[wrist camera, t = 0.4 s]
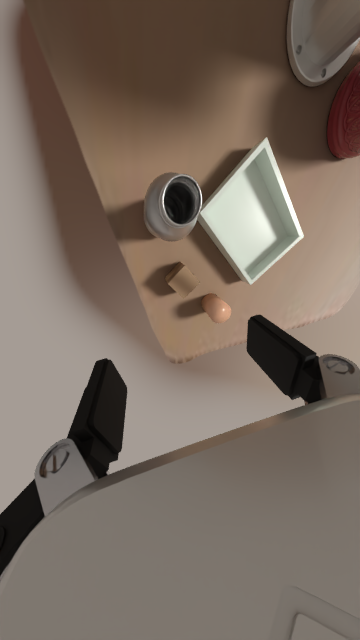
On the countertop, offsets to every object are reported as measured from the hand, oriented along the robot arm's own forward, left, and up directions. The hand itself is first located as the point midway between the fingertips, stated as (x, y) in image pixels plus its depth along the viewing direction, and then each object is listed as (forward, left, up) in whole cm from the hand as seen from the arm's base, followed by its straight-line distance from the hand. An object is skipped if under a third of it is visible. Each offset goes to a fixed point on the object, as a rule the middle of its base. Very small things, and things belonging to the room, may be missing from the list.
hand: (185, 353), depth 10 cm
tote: (-20, +8, -29) cm, 36 cm away
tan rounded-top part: (-3, +16, -29) cm, 33 cm away
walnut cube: (-2, +5, -29) cm, 29 cm away
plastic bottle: (-8, -6, -29) cm, 30 cm away
